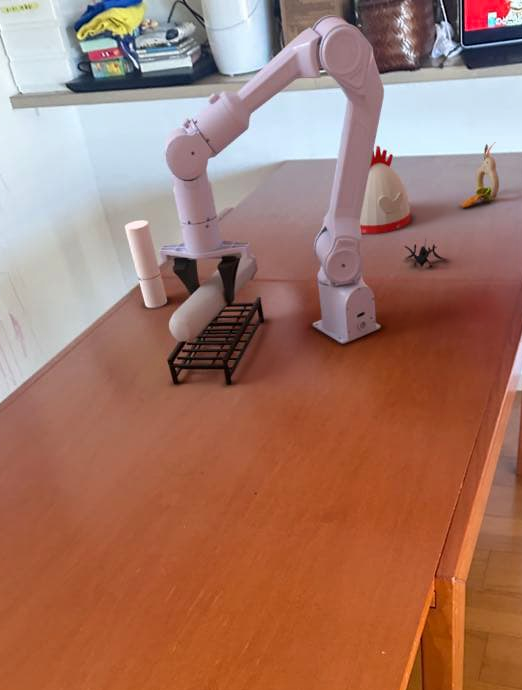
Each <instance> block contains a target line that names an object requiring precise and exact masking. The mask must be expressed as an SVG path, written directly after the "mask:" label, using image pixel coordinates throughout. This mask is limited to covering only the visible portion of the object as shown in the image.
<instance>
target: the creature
mask: <svg viewBox="0 0 522 690" xmlns="http://www.w3.org/2000/svg"><path fill="white" fill-rule="evenodd" d="M424 241H425V242H424V245H423V246H421V247H420V250H419V253H418V255H417V254H416V253H417V244H416V243H415V244H414V246H413V250H412V249H411V248H410V247H408V246H406V245H404V246H403V247H404V248H406V250H408V251H409V253H411V254H410V255H408V256H406V257H405V260H412V258H413V257H414V259H413V262H414V263H413V264H414V267H416V266H417V263H418V264H419V265H420V267H421V268H423V266H424V265H425V264H426V263H429V267H430V268H433V265H434V263H436V262H437V260H435V261H429V259H428V257H429V256H430V254H433V256H434V257H435V258H437V259H438V260H439V259H440V262H441V261H443V262H444V261H447V259H446V258H444V257H442V256H440V255H439V254H437V252H436V251H435V249H437V246H436V244H433V245H432V247H427V249H426V245H427V244H426V242H427V239H425V240H424Z"/></svg>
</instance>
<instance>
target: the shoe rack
mask: <svg viewBox="0 0 522 690" xmlns="http://www.w3.org/2000/svg"><path fill="white" fill-rule="evenodd" d="M241 307H242V308H241ZM249 307H251V308H249ZM223 313H239V314H223ZM244 313H247V314H244ZM256 313H257V317H258V318H257V320H256V321H255V323H253V322H252V320H253V318H254V316H255V314H256ZM264 316H265V315H264V311H263V303H262V298H261V296H256V299H255V301H254V302H233V303H232V304H230V305H226V306H225V307H224V308H223V310H222V311H221V312H220V313H219V314H218V315H217V316H216V317H215V318H214V319H213V320H212V322H211V323H210V324H209V325H208V326H207V327H206V328H205V329H204V330H203V331H202V332H201V333H200V335H199V336H198V337H197V338H196V339H195V340H194V341H193V342H191V341H180V342H179V341H178V343H177V344H176V346H175V347H174V348H173V350H172V352H171V353H170V355H169V356H168V358H167V359H166V362H167V365H168V368H169V372H170V375H171V380H172V384H173V385H178V384H179V383H180V381H179V378H178V377H179V376H180V374H181V372H182V371H183V370H186V371H187V370H197V371H199V370H200V371H201V370H202V371H203V370H207V371H209V370H213V371H216V370H217V371H218V370H219V371H221V370H223V373H224V374H223V375H224V379H225V384H226V385H228V386H230V385H232V384H233V380H232V377H233V375H234V373H235V372H236V369H237V367H238V366H239V364H240V361H241V360H242V358H243V356H244V354H245V353H246V350H247V348H248V346H249V345H250V343H251V341H252V339H253V337H254V335H255V333H256V332H257V329H258V328H259V327H260V324H263V323H265V317H264ZM219 319H236V320H235V321H218V320H219ZM241 319H244V320H242V321H240V320H241ZM251 322H252V323H251ZM215 327H216V328H215ZM217 327H218V328H217ZM220 327H221V328H220ZM248 327H252V329H251V331H247V329H248ZM244 335H248V336H247V338H246V339H242V338H243V336H244ZM239 343H240V344H241V343H242V344H243V346H242V348H237V347H238V346H239ZM185 346H191V348H188V349H187V348H186V349H185ZM203 346H220V347H219V348H202V347H203ZM225 346H229V347H228V348H224V347H225ZM235 352H239V354H238V355H237V357H232V356H233V355H234V353H235ZM180 353H186V355H185V356H179V355H180ZM198 353H216V354H215V355H214V356H197V354H198ZM221 353H224V355H223V356H220V354H221ZM176 360H177V361H181V362H180V363H175V361H176ZM193 361H211V363H192V362H193ZM216 361H222V363H216ZM229 361H234V362H233V364H232V366H230V365H229Z"/></svg>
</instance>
